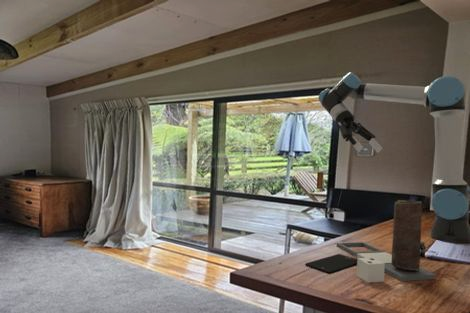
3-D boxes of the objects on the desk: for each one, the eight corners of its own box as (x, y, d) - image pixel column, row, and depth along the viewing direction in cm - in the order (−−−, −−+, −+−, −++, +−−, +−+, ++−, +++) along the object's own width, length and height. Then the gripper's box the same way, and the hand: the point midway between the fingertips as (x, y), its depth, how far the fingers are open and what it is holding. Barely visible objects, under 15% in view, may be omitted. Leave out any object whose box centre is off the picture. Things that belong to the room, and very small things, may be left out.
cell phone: (363, 263, 109) (363, 260, 109) (329, 275, 98) (329, 272, 98) (338, 256, 116) (338, 253, 116) (304, 266, 105) (304, 263, 105)
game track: (363, 245, 130) (363, 242, 130) (435, 278, 97) (435, 274, 97) (336, 246, 128) (336, 242, 127) (401, 281, 94) (401, 276, 94)
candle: (413, 276, 95) (416, 203, 95) (386, 268, 101) (389, 199, 100) (423, 270, 100) (426, 201, 100) (397, 263, 106) (400, 197, 105)
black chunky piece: (394, 252, 124) (395, 239, 124) (403, 249, 129) (404, 236, 129) (432, 261, 115) (432, 247, 115) (440, 257, 120) (440, 244, 120)
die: (372, 275, 99) (373, 257, 99) (383, 281, 94) (384, 263, 94) (356, 276, 97) (357, 257, 97) (367, 282, 93) (368, 263, 93)
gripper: (353, 124, 166) (381, 156, 154) (318, 120, 151) (346, 155, 139) (364, 112, 161) (393, 145, 149) (328, 106, 147) (358, 142, 135)
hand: (370, 150), depth 144 cm, fingers open, 13 cm apart
